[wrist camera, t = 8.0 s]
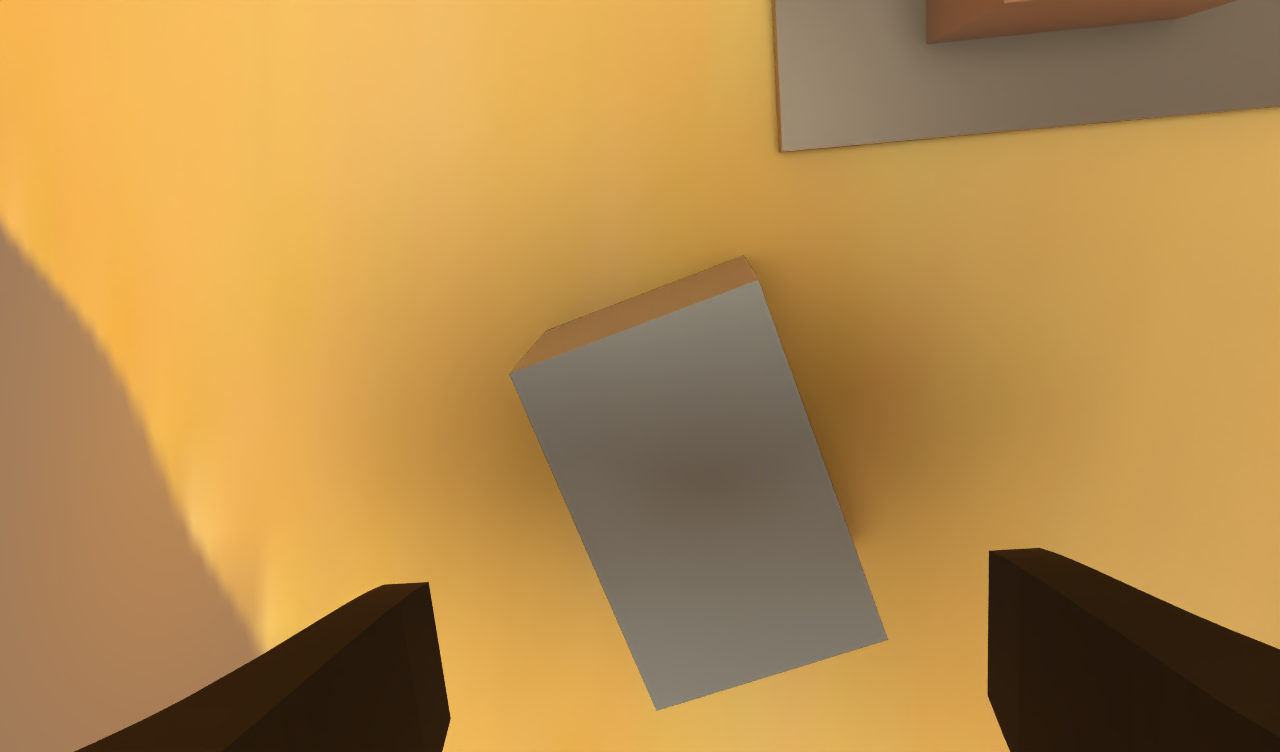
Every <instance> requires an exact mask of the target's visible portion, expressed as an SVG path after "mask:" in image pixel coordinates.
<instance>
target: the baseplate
mask: <svg viewBox="0 0 1280 752" xmlns="http://www.w3.org/2000/svg"><path fill="white" fill-rule="evenodd" d="M772 12H773V33H774V54H775V75H776V96H777V117H778V138H779V152H787V151H798V150H808V149H819V148H830V147H841V146H852V145H863V144H874V143H885V142H896V141H907V140H918V139H929V138H939V137H950V136H961V135H972V134H983V133H994V132H1005V131H1016V130H1027V129H1038V128H1049V127H1060V126H1071V125H1081V124H1092V123H1103V122H1114V121H1125V120H1136V119H1147V118H1158V117H1169V116H1180V115H1191V114H1202V113H1212V112H1223V111H1234V110H1245V109H1256V108H1267V107H1278V106H1280V0H1237V1H1234V2H1230V3H1227V4H1224V5H1221V6H1217V7H1214V8H1211V9H1208V10H1204V11H1201V12H1198V13H1195V14H1191V15H1188V16H1185V17H1181V18H1178V19H1171V20H1161V21H1151V22H1141V23H1131V24H1121V25H1111V26H1101V27H1091V28H1081V29H1071V30H1061V31H1051V32H1041V33H1031V34H1021V35H1011V36H1001V37H991V38H982V39H972V40H962V41H952V42H942V43H932V44H926V0H772Z"/></svg>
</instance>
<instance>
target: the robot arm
mask: <svg viewBox="0 0 1280 752" xmlns="http://www.w3.org/2000/svg"><path fill="white" fill-rule="evenodd" d="M988 697H989V700H990V702H991V705H992V707H993V710H994V713H995V715H996V718H997V720H998V723H999V725H1000V728H1001V730H1002V733H1003V735H1004V738H1005V740H1006V742H1007V745H1008V747H1009V750H1010V752H1280V649H1277V648H1275V647H1272V646H1270V645H1267V644H1265V643H1262V642H1260V641H1257V640H1255V639H1252V638H1250V637H1247V636H1245V635H1242V634H1240V633H1237V632H1234V631H1232V630H1229V629H1227V628H1225V627H1222V626H1220V625H1218V624H1215V623H1213V622H1211V621H1208V620H1206V619H1204V618H1201V617H1199V616H1196V615H1194V614H1192V613H1190V612H1187V611H1185V610H1183V609H1181V608H1178V607H1176V606H1174V605H1172V604H1169V603H1167V602H1165V601H1163V600H1160V599H1158V598H1156V597H1154V596H1152V595H1149V594H1147V593H1145V592H1143V591H1141V590H1138V589H1136V588H1134V587H1132V586H1130V585H1127V584H1125V583H1123V582H1121V581H1119V580H1116V579H1114V578H1112V577H1110V576H1108V575H1106V574H1103V573H1101V572H1099V571H1097V570H1095V569H1092V568H1090V567H1088V566H1085V565H1083V564H1081V563H1079V562H1076V561H1074V560H1072V559H1069V558H1067V557H1064V556H1062V555H1059V554H1056V553H1054V552H1051V551H1048V550H1044V549H1041V548H1031V549H1013V550H995V551H989V609H988ZM450 719H451V718H450V712H449V706H448V700H447V693H446V687H445V681H444V675H443V669H442V662H441V656H440V650H439V644H438V638H437V631H436V625H435V619H434V613H433V607H432V600H431V594H430V588H429V582H423V583H406V584H388V585H382V586H380V587H377V588H375V589H373V590H371V591H369V592H367V593H365V594H363V595H361V596H359V597H357V598H355V599H354V600H352V601H350V602H348V603H347V604H345V605H343V606H342V607H340V608H338V609H337V610H335V611H333V612H332V613H330V614H328V615H327V616H325V617H323V618H322V619H320V620H318V621H317V622H315V623H314V624H312V625H310V626H309V627H307V628H305V629H304V630H302V631H300V632H299V633H297V634H295V635H294V636H292V637H291V638H289V639H287V640H286V641H284V642H282V643H281V644H279V645H277V646H276V647H274V648H273V649H271V650H269V651H268V652H266V653H264V654H263V655H261V656H259V657H257V658H256V659H254V660H252V661H250V662H249V663H247V664H245V665H243V666H242V667H240V668H238V669H236V670H235V671H233V672H231V673H229V674H227V675H226V676H224V677H222V678H220V679H219V680H217V681H215V682H214V683H212V684H210V685H208V686H206V687H205V688H203V689H201V690H199V691H198V692H196V693H194V694H192V695H190V696H189V697H187V698H185V699H183V700H181V701H179V702H177V703H175V704H173V705H171V706H170V707H168V708H166V709H164V710H162V711H160V712H158V713H156V714H154V715H152V716H150V717H148V718H146V719H144V720H142V721H140V722H138V723H136V724H133V725H132V726H129V727H127V728H125V729H123V730H121V731H118V732H116V733H114V734H112V735H110V736H108V737H106V738H103V739H102V740H99V741H97V742H95V743H93V744H90V745H88V746H86V747H84V748H81V749H79V750H77V751H75V752H442V750H443V746H444V742H445V738H446V735H447V731H448V727H449V723H450Z"/></svg>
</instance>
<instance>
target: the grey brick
mask: <svg viewBox="0 0 1280 752" xmlns="http://www.w3.org/2000/svg"><path fill="white" fill-rule="evenodd" d="M509 374H510V377H511V379H512V381H513V384H514V386H515V388H516V390H517V393H518V395H519V397H520V400H521V402H522V404H523V406H524V409H525V411H526V413H527V416H528V418H529V420H530V422H531V425H532V427H533V429H534V432H535V434H536V436H537V438H538V441H539V443H540V445H541V448H542V450H543V452H544V454H545V457H546V459H547V461H548V464H549V466H550V468H551V470H552V473H553V475H554V477H555V480H556V482H557V484H558V487H559V489H560V491H561V493H562V496H563V498H564V500H565V503H566V505H567V507H568V509H569V512H570V514H571V516H572V519H573V521H574V523H575V525H576V528H577V530H578V532H579V535H580V537H581V539H582V541H583V544H584V546H585V548H586V551H587V553H588V555H589V557H590V560H591V562H592V564H593V567H594V569H595V571H596V573H597V576H598V578H599V580H600V583H601V585H602V587H603V589H604V592H605V594H606V596H607V599H608V601H609V603H610V605H611V608H612V610H613V612H614V615H615V617H616V619H617V621H618V624H619V626H620V628H621V631H622V633H623V635H624V637H625V640H626V642H627V644H628V647H629V649H630V651H631V653H632V656H633V658H634V660H635V663H636V665H637V667H638V669H639V672H640V674H641V676H642V679H643V681H644V683H645V685H646V688H647V690H648V692H649V695H650V697H651V699H652V701H653V704H654V706H655V708H656V711H657V710H661V709H664V708H667V707H671V706H674V705H677V704H680V703H684V702H687V701H690V700H693V699H697V698H700V697H703V696H706V695H710V694H713V693H716V692H719V691H723V690H726V689H729V688H732V687H736V686H739V685H742V684H745V683H749V682H752V681H755V680H758V679H762V678H765V677H768V676H772V675H775V674H778V673H781V672H785V671H788V670H791V669H794V668H798V667H801V666H804V665H807V664H811V663H814V662H817V661H820V660H824V659H827V658H830V657H833V656H837V655H840V654H843V653H846V652H850V651H853V650H856V649H859V648H863V647H866V646H869V645H872V644H876V643H879V642H882V641H886V640H888V638H887V635H886V633H885V630H884V627H883V624H882V621H881V619H880V616H879V613H878V610H877V608H876V605H875V602H874V599H873V596H872V594H871V591H870V588H869V585H868V583H867V580H866V577H865V574H864V572H863V569H862V566H861V563H860V560H859V558H858V555H857V552H856V549H855V547H854V544H853V541H852V538H851V535H850V533H849V530H848V527H847V524H846V522H845V519H844V516H843V513H842V510H841V508H840V505H839V502H838V499H837V497H836V494H835V491H834V488H833V486H832V483H831V480H830V477H829V474H828V472H827V469H826V466H825V463H824V461H823V458H822V455H821V452H820V449H819V447H818V444H817V441H816V438H815V436H814V433H813V430H812V427H811V424H810V422H809V419H808V416H807V413H806V411H805V408H804V405H803V402H802V400H801V397H800V394H799V391H798V388H797V386H796V383H795V380H794V377H793V375H792V372H791V369H790V366H789V363H788V361H787V358H786V355H785V352H784V350H783V347H782V344H781V341H780V339H779V336H778V333H777V330H776V327H775V325H774V322H773V319H772V316H771V314H770V311H769V308H768V305H767V302H766V300H765V297H764V294H763V291H762V289H761V286H760V283H759V280H758V278H757V277H756V275H755V273H754V272H753V270H752V269H751V267H750V265H749V264H748V262H747V260H746V259H745V257H744V255H743V256H741V257H738V258H735V259H733V260H730V261H728V262H725V263H722V264H720V265H717V266H714V267H712V268H709V269H707V270H704V271H701V272H699V273H696V274H694V275H691V276H688V277H686V278H683V279H681V280H678V281H675V282H673V283H670V284H667V285H665V286H662V287H660V288H657V289H654V290H652V291H649V292H647V293H644V294H641V295H639V296H636V297H633V298H631V299H628V300H626V301H623V302H620V303H618V304H615V305H613V306H610V307H607V308H605V309H602V310H599V311H597V312H594V313H592V314H589V315H586V316H584V317H581V318H579V319H576V320H573V321H571V322H568V323H565V324H563V325H560V326H558V327H555V328H552V329H550V330H547V331H546V332H545V333H544V334H543V335H542V336H541V337H540V339H539V340H538V341H537V342H536V343H535V344H534V345H533V347H532V348H531V349H530V350H529V351H528V352H527V354H526V355H525V356H524V357H523V358H522V359H521V361H520V362H519V363H518V364H517V365H516V366H515V368H514V369H513V370H512V371H511V372H510V373H509Z"/></svg>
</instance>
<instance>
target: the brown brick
mask: <svg viewBox="0 0 1280 752" xmlns="http://www.w3.org/2000/svg"><path fill="white" fill-rule="evenodd" d="M1234 1H1237V0H926V44H932V43H942V42H952V41H962V40H972V39H982V38H991V37H1001V36H1011V35H1021V34H1031V33H1041V32H1051V31H1061V30H1071V29H1081V28H1091V27H1101V26H1111V25H1121V24H1131V23H1141V22H1151V21H1161V20H1171V19H1178V18H1181V17H1185V16H1188V15H1191V14H1195V13H1198V12H1201V11H1204V10H1208V9H1211V8H1214V7H1217V6H1221V5H1224V4H1227V3H1230V2H1234Z"/></svg>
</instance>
